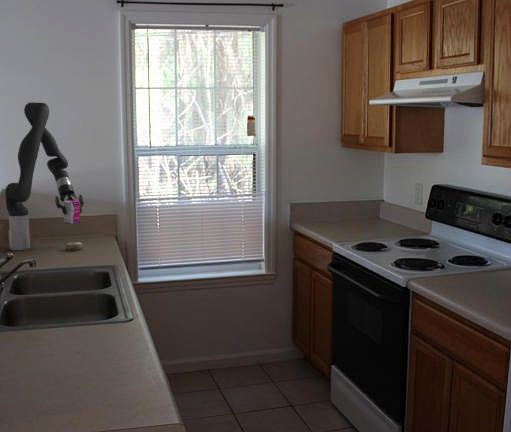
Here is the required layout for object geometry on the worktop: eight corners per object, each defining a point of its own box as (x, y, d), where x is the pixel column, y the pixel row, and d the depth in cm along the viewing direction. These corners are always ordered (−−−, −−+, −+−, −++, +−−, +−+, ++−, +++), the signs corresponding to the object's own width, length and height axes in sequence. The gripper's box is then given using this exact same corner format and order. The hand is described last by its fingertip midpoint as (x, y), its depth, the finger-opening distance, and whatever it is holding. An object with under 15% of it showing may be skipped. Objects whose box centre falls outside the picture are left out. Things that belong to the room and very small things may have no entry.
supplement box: (71, 224, 343) (70, 202, 341) (64, 223, 347) (63, 201, 345) (80, 223, 348) (79, 201, 346) (73, 221, 351) (72, 200, 350)
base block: (69, 251, 334) (68, 245, 333) (63, 249, 340) (63, 243, 340) (84, 250, 338) (84, 244, 338) (79, 247, 345) (79, 241, 344)
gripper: (52, 184, 347) (60, 209, 339) (80, 182, 354) (88, 207, 346) (50, 193, 352) (57, 218, 344) (77, 191, 360) (85, 216, 352)
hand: (73, 213), depth 345 cm, fingers closed on supplement box, 7 cm apart
